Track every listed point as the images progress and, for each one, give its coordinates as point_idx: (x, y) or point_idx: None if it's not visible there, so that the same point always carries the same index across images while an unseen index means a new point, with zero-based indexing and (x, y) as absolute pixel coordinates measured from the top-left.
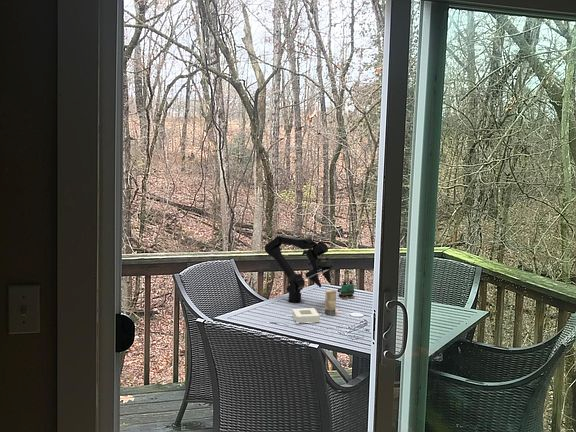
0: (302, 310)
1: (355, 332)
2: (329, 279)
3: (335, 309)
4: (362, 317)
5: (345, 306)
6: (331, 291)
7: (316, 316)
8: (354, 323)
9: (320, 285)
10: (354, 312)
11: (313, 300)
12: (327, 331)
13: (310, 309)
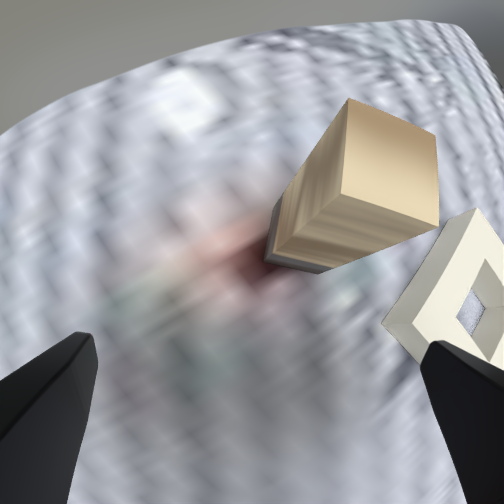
0: (479, 349)
1: (400, 50)
2: (59, 386)
3: (282, 194)
4: (215, 60)
5: (74, 229)
6: (404, 145)
7: (484, 222)
8: (326, 66)
9: (458, 352)
10: (157, 122)
11: (116, 493)
12: (474, 145)
13: (447, 321)
